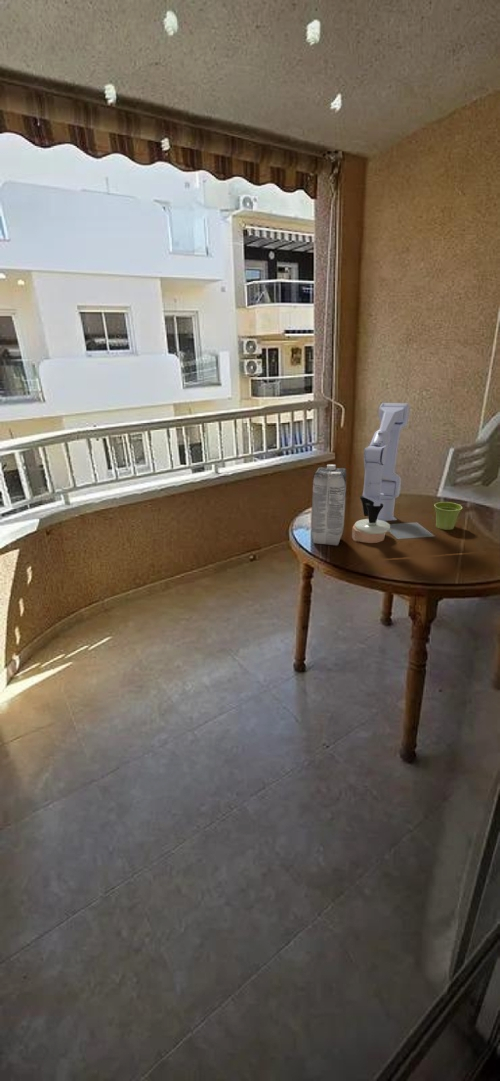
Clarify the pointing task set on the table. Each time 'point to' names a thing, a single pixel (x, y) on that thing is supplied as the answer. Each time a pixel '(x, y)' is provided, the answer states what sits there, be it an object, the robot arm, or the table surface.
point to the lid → (372, 526)
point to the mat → (409, 531)
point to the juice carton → (328, 505)
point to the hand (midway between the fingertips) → (369, 519)
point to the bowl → (366, 536)
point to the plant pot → (446, 514)
